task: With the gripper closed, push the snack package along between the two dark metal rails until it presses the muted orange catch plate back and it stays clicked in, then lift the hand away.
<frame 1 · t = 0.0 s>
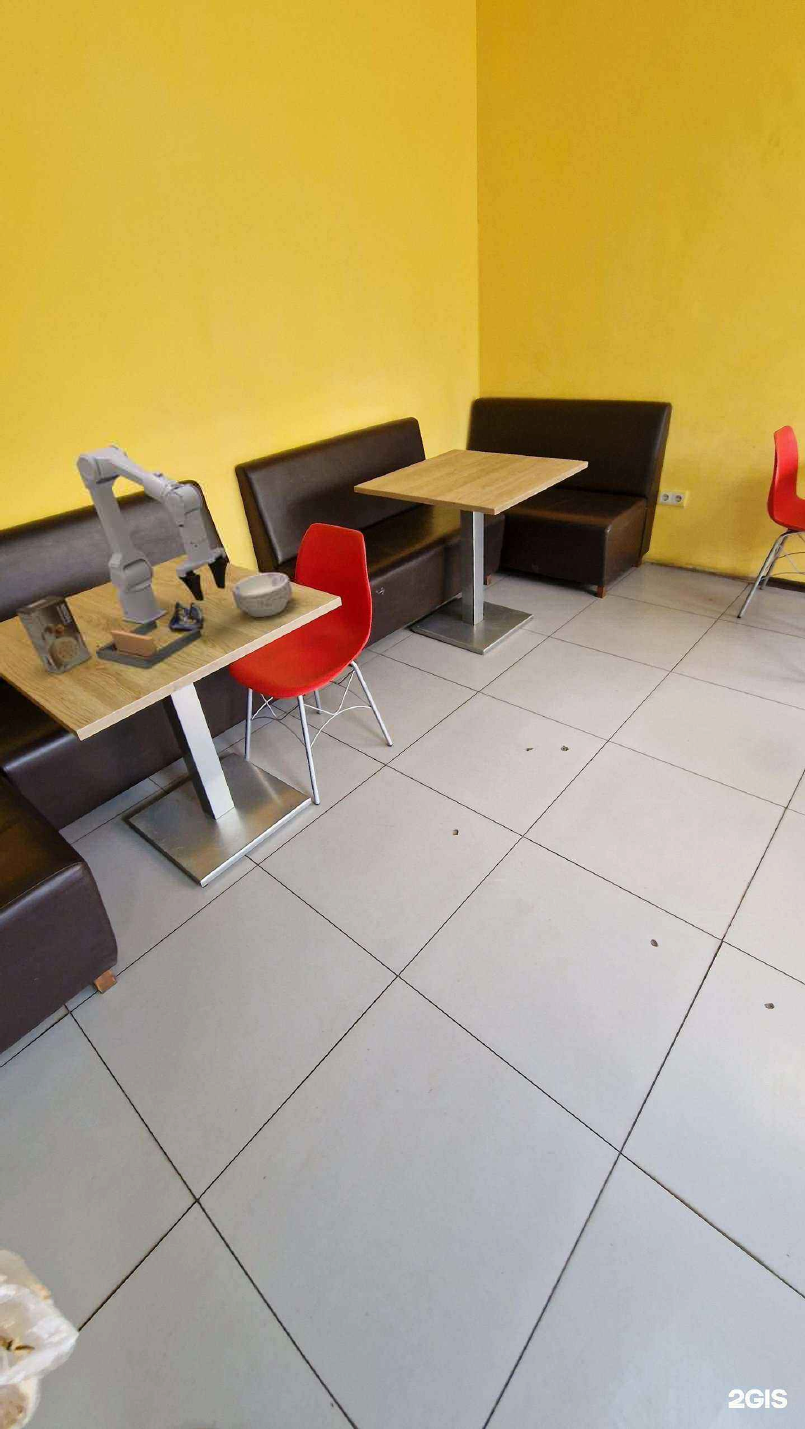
hand: (210, 593, 156), 10 cm above the table, tool pointing down, fingers open, 7 cm apart
catch plate: (134, 643, 154), point 3 cm above the table, slide at 0.0 cm
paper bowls: (267, 610, 170), on the table
rail track: (153, 644, 159), on the table
coffee box: (68, 664, 155), on the table
snack package: (191, 625, 168), on the table
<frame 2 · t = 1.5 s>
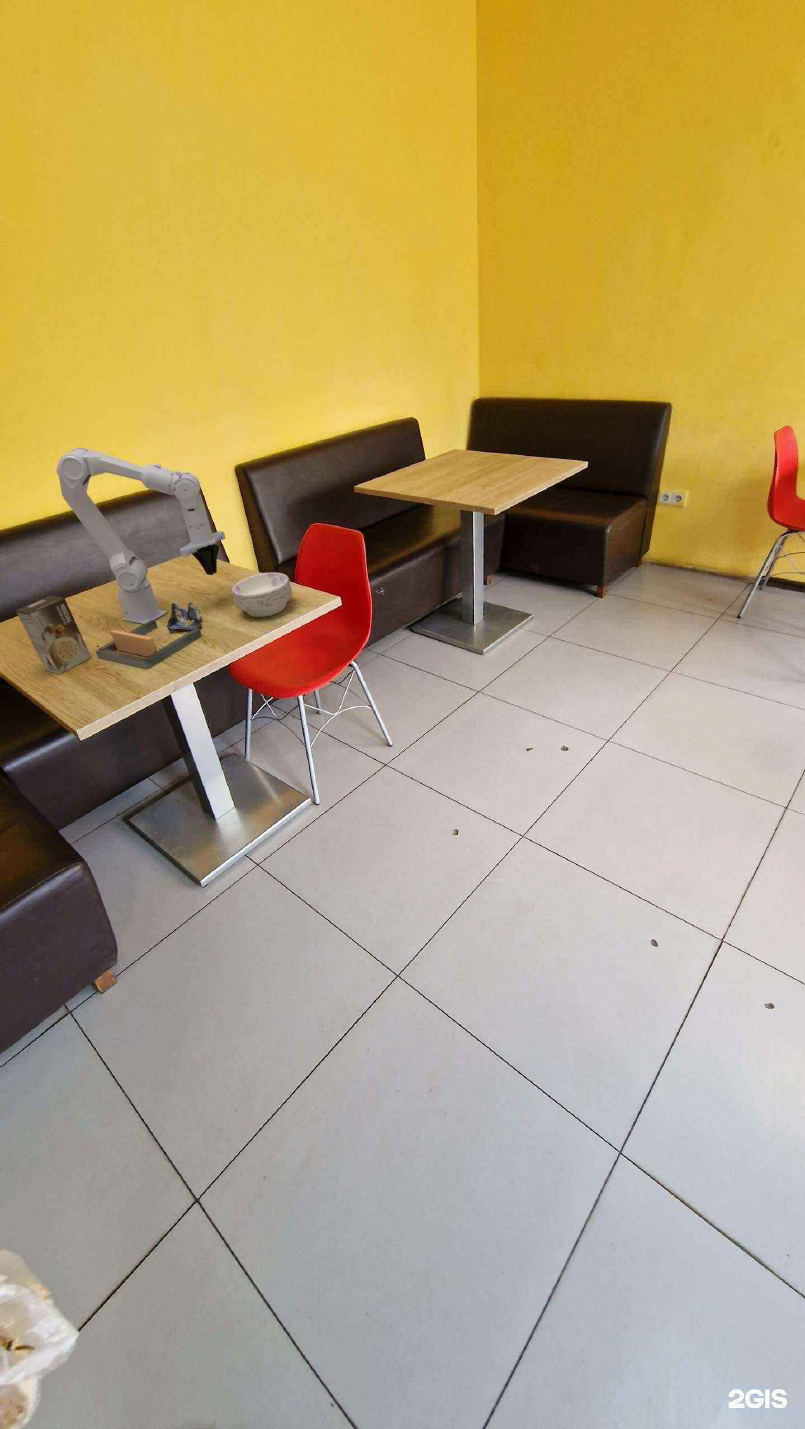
hand: (211, 573, 170), 9 cm above the table, tool pointing down, fingers closed
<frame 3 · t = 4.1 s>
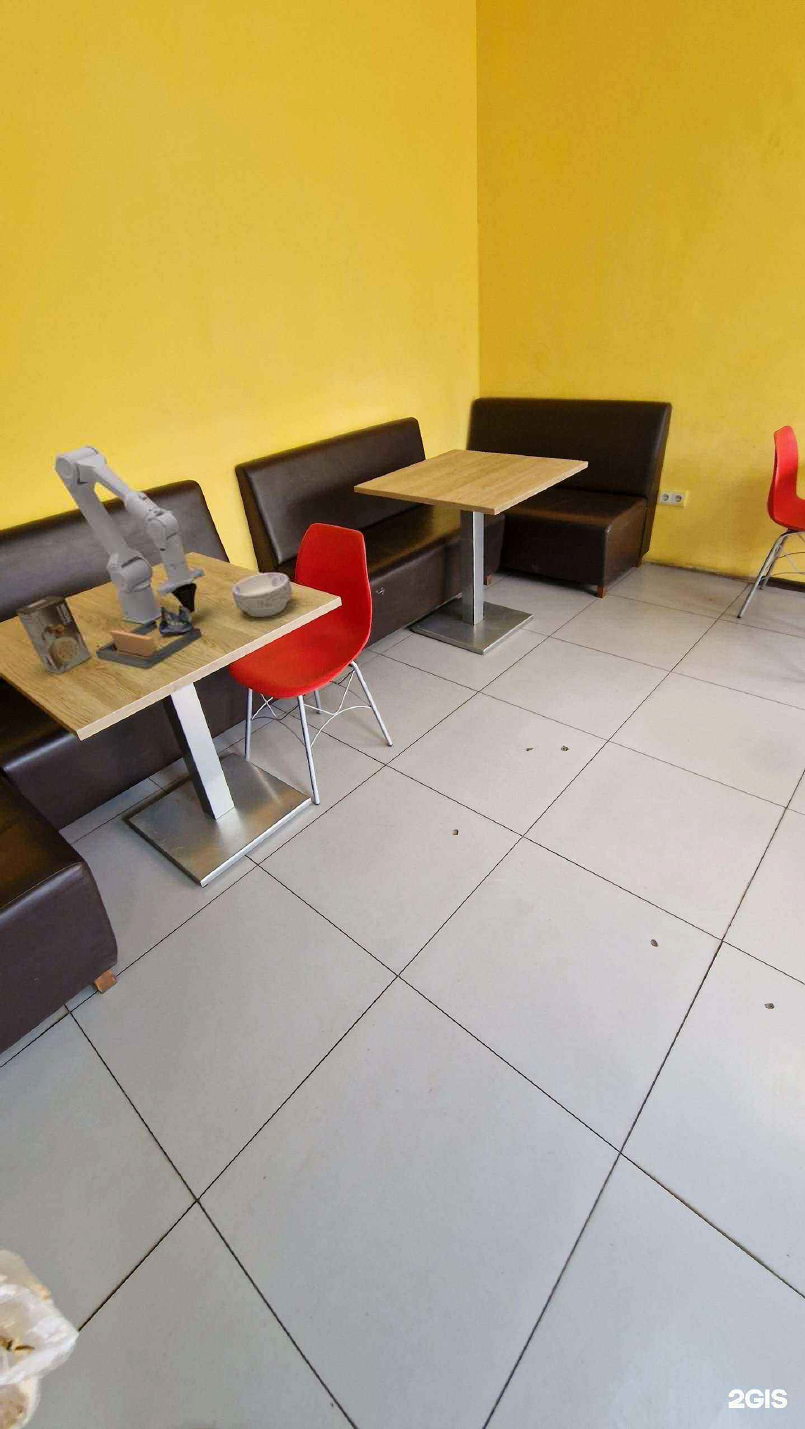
hand: (190, 611, 167), 3 cm above the table, tool pointing down, fingers closed
snack package: (180, 628, 166), on the table, touching gripper
everything else where it was.
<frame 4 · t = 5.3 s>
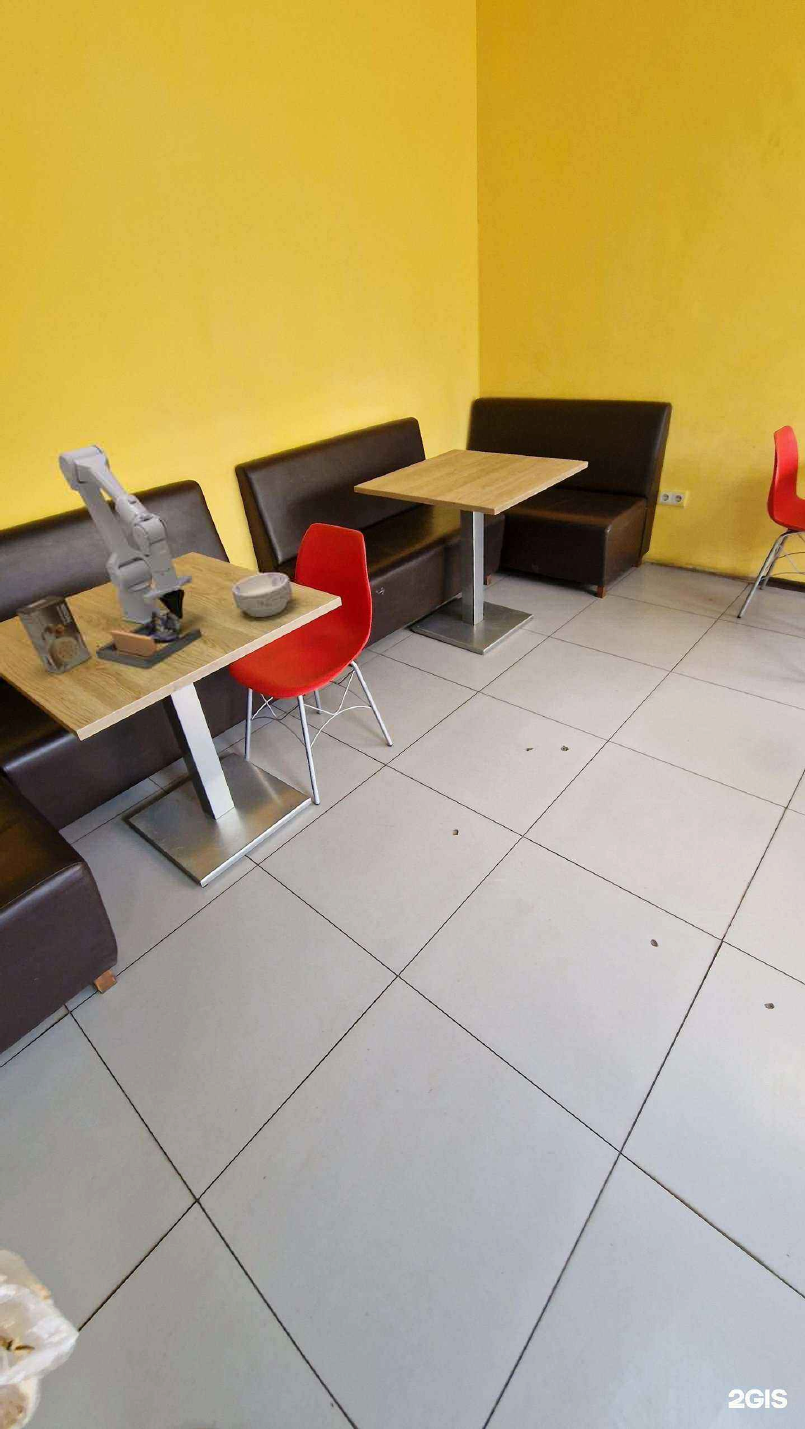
hand: (178, 618, 164), 3 cm above the table, tool pointing down, fingers closed
snack package: (168, 635, 163), on the table, touching gripper
everything else where it was.
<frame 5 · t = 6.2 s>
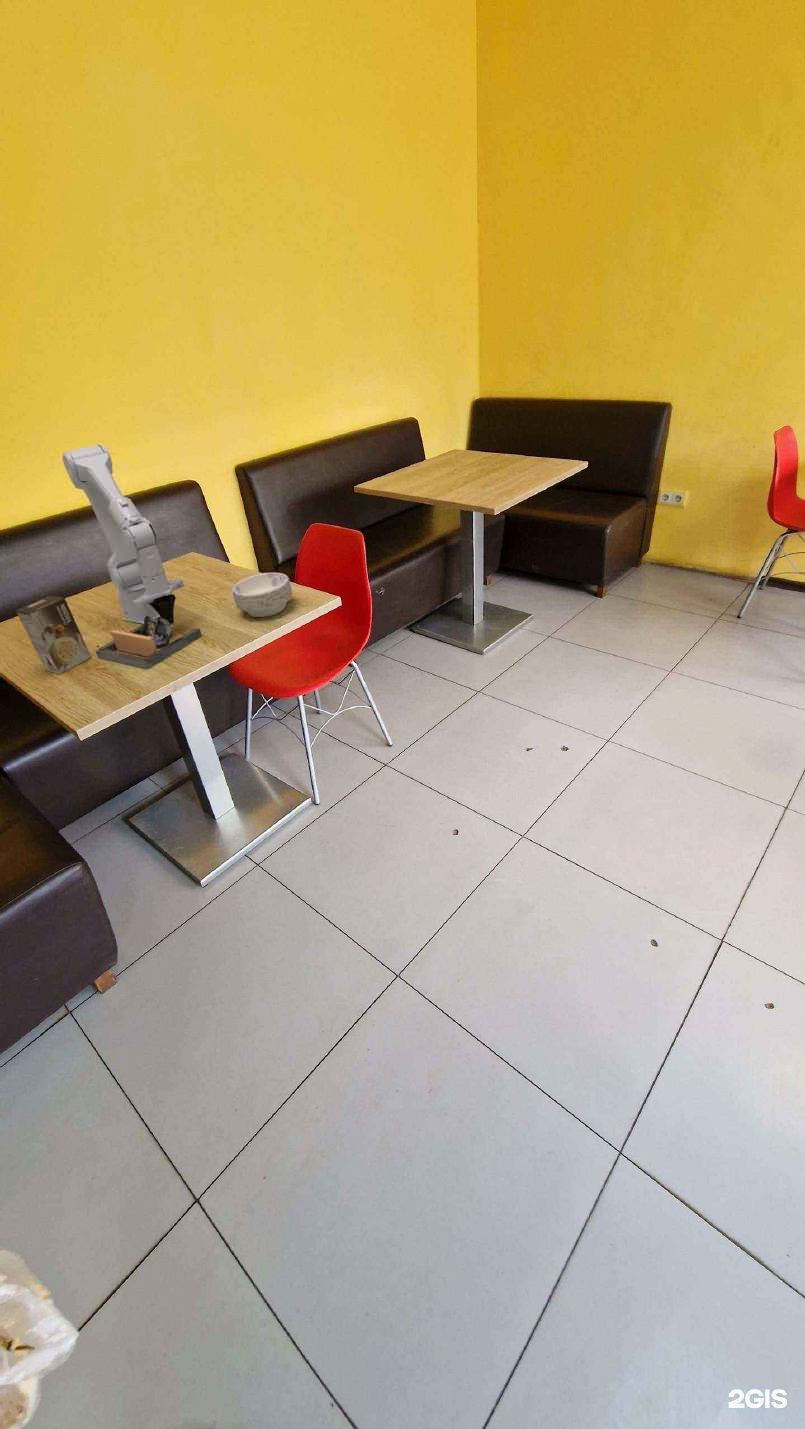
hand: (169, 623, 162), 3 cm above the table, tool pointing down, fingers closed
snack package: (159, 640, 161), on the table, touching gripper
everything else where it was.
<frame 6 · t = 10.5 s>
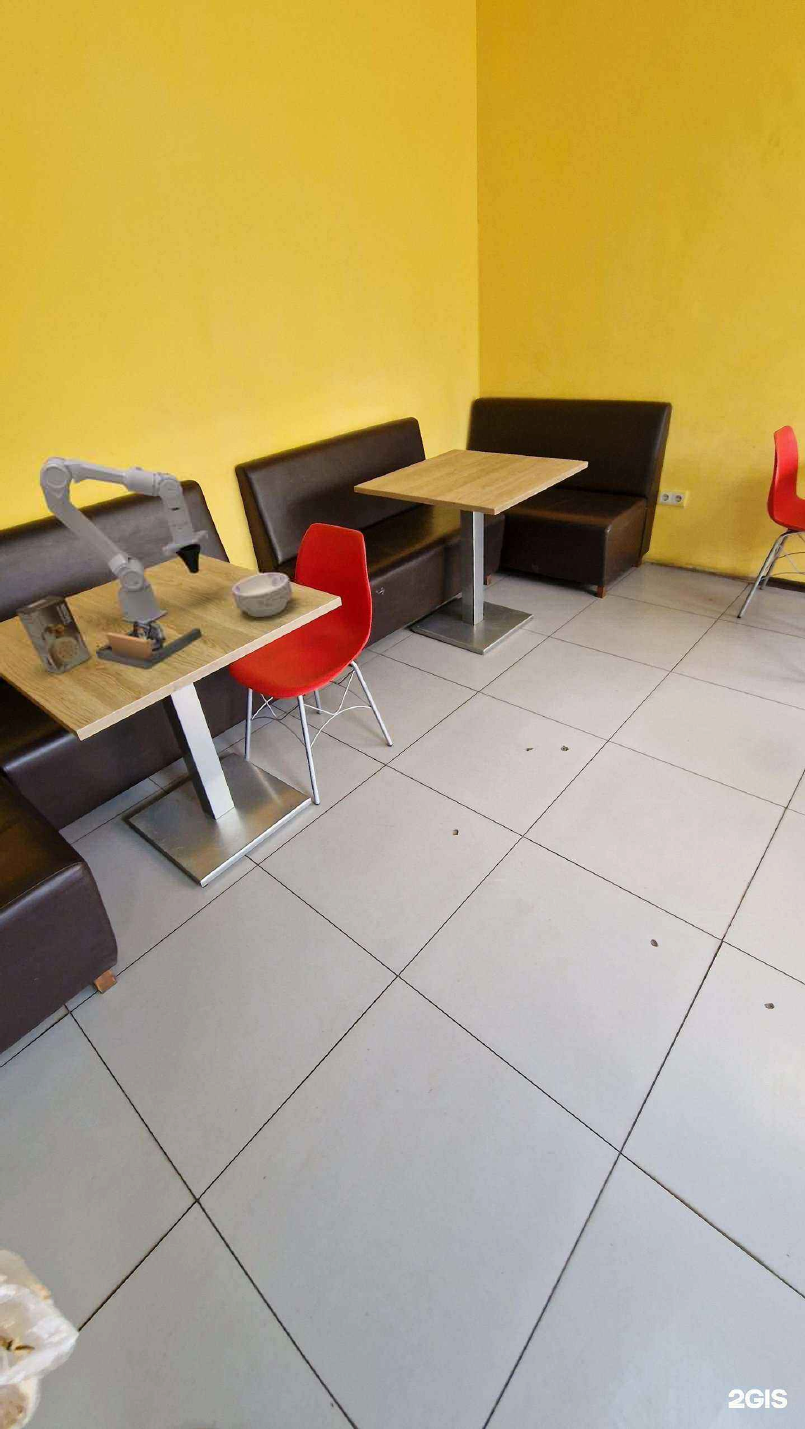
hand: (194, 572, 173), 9 cm above the table, tool pointing down, fingers closed
catch plate: (130, 646, 153), point 3 cm above the table, slide at 1.3 cm
snack package: (151, 644, 160), on the table
everything else where it was.
at the end: snack package inside the target area (2.1 cm from its centre), on the table; catch plate slide at 1.3 cm; snack package tilted 0° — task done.
